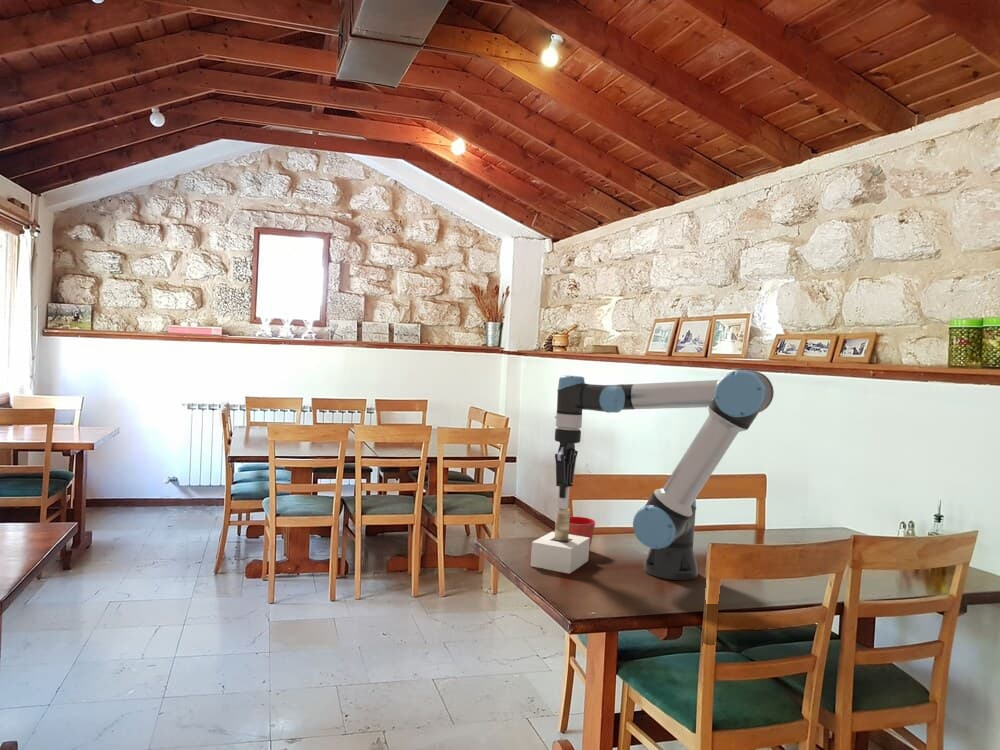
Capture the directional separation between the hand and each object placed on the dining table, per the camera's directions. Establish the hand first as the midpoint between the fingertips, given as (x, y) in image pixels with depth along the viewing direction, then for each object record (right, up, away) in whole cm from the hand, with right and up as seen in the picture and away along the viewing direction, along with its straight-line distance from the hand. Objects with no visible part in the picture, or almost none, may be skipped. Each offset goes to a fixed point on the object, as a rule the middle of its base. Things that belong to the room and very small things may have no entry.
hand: (562, 508), depth 219 cm
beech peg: (-1, -14, 0) cm, 14 cm away
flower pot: (+6, -16, +16) cm, 24 cm away
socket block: (-1, -16, 0) cm, 16 cm away
